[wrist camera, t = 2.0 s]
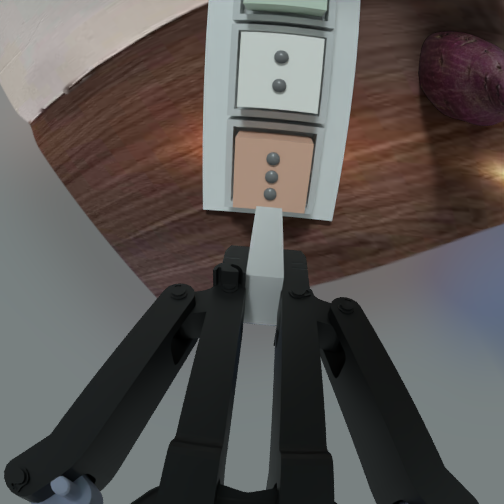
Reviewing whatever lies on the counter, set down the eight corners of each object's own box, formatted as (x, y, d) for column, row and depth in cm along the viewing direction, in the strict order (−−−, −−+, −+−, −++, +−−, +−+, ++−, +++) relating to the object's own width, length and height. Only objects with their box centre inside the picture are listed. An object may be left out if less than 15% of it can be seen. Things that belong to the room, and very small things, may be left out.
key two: (245, 36, 21) (240, 31, 19) (319, 42, 21) (325, 38, 18) (241, 103, 25) (236, 106, 22) (313, 109, 25) (317, 114, 22)
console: (216, -57, 17) (209, -70, 14) (359, -45, 17) (367, -56, 14) (205, 205, 34) (197, 219, 31) (330, 216, 33) (335, 232, 30)
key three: (239, 130, 26) (235, 137, 24) (310, 137, 26) (314, 144, 23) (236, 194, 30) (232, 208, 27) (302, 200, 30) (304, 214, 27)
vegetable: (419, 115, 29) (456, 178, 18) (404, 30, 22) (445, 40, 12) (495, 115, 24) (557, 178, 14) (487, 32, 18) (562, 55, 8)
